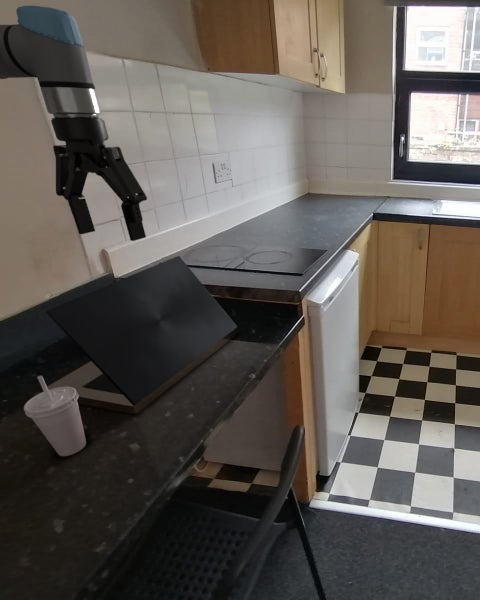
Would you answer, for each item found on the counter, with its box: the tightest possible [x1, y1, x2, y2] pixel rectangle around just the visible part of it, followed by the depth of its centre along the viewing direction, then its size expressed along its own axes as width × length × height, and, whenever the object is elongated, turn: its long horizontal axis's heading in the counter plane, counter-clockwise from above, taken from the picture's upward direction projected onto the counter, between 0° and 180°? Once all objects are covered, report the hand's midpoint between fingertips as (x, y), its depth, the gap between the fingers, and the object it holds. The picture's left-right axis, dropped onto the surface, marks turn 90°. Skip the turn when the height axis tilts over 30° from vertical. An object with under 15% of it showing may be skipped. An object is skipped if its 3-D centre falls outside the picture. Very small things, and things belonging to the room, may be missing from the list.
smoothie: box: [23, 375, 87, 457], centre depth 62 cm, size 6×6×14 cm
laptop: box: [41, 328, 237, 415], centre depth 87 cm, size 21×30×2 cm
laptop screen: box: [45, 255, 238, 406], centre depth 82 cm, size 21×30×1 cm
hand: (112, 235), depth 79 cm, fingers open, 13 cm apart
